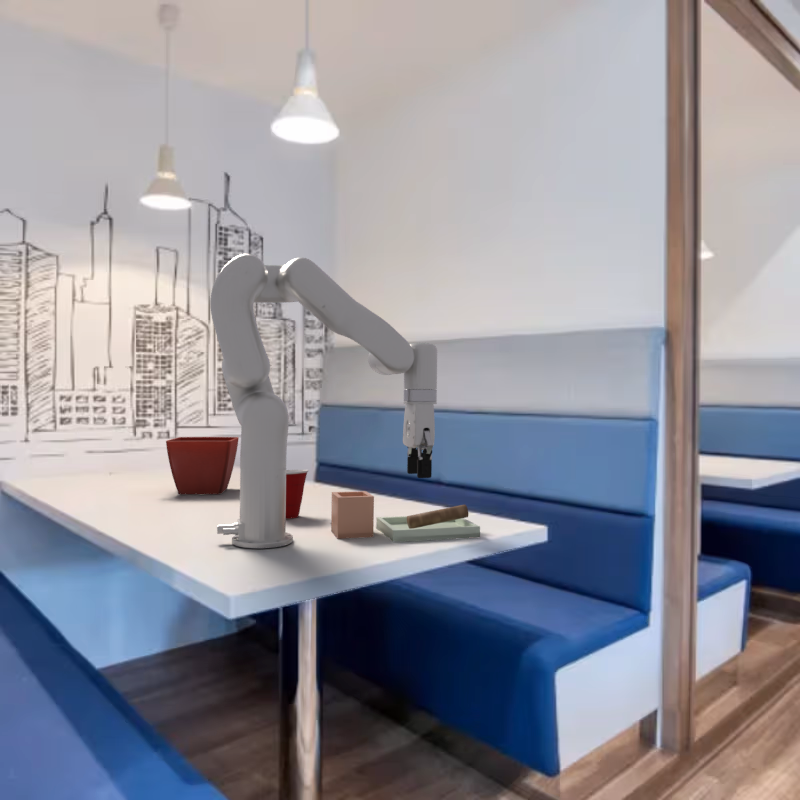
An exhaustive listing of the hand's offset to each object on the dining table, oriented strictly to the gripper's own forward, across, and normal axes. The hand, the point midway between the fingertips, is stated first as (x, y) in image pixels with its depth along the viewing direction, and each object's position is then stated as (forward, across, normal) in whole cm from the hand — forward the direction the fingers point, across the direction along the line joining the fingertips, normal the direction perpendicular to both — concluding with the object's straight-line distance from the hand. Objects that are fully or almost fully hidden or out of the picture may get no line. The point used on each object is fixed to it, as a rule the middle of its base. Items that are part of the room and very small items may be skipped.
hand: (419, 475), depth 150 cm
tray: (+13, 0, +2) cm, 13 cm away
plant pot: (+14, -72, -48) cm, 88 cm away
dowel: (+13, 0, -2) cm, 13 cm away
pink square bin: (+13, -2, -15) cm, 20 cm away
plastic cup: (+13, -26, -27) cm, 40 cm away
